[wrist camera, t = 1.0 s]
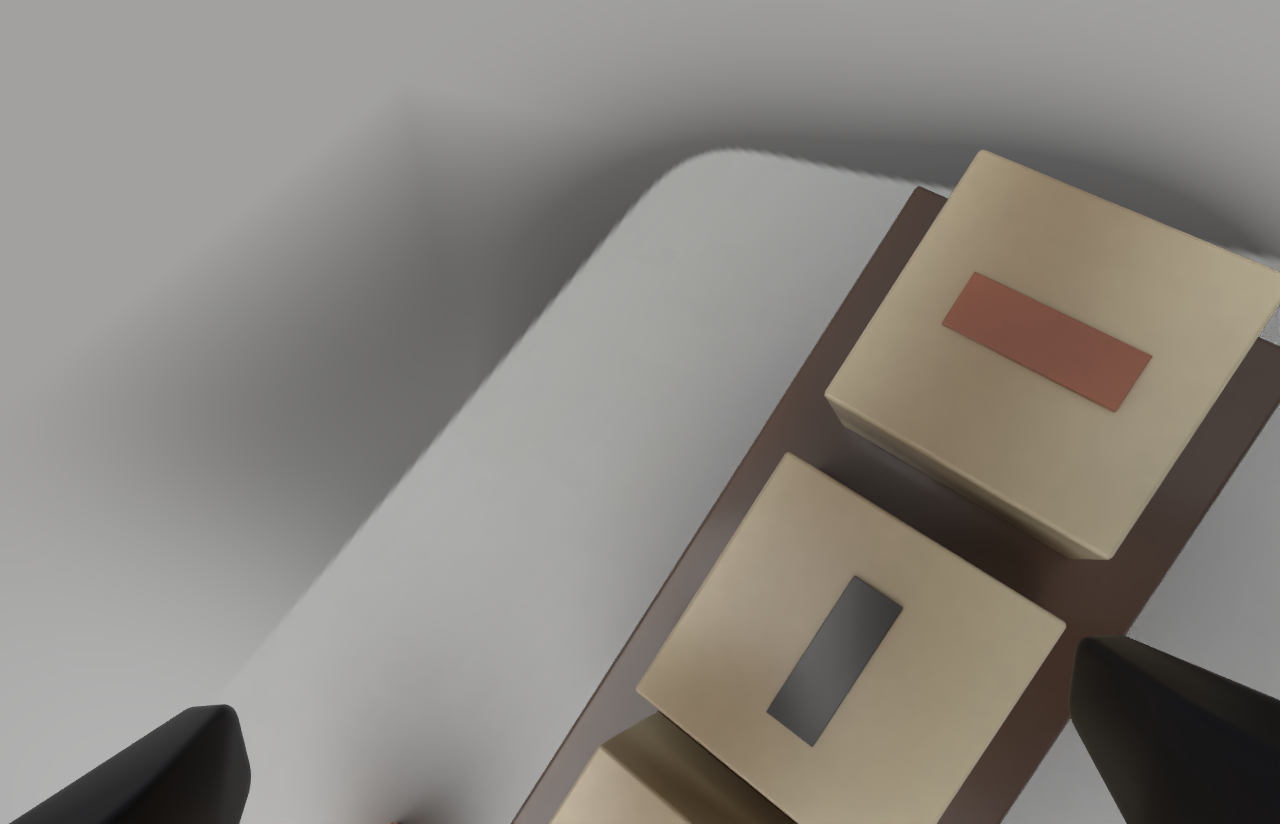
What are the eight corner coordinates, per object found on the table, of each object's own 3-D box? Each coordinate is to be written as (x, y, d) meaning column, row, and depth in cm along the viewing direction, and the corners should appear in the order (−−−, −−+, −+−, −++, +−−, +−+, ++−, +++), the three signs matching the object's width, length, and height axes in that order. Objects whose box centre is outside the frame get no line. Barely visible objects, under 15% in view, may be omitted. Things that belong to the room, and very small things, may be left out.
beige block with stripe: (1221, 335, 13) (1303, 274, 11) (1072, 561, 14) (1112, 562, 11) (970, 221, 15) (981, 141, 12) (840, 424, 15) (821, 393, 12)
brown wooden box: (1149, 440, 22) (1422, 301, 10) (827, 930, 23) (715, 1357, 11) (920, 322, 25) (915, 97, 13) (635, 766, 25) (370, 958, 13)
